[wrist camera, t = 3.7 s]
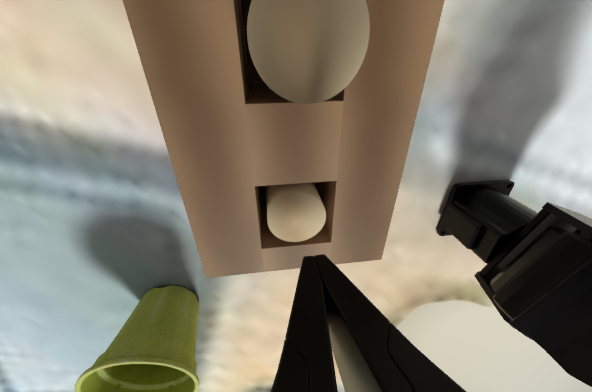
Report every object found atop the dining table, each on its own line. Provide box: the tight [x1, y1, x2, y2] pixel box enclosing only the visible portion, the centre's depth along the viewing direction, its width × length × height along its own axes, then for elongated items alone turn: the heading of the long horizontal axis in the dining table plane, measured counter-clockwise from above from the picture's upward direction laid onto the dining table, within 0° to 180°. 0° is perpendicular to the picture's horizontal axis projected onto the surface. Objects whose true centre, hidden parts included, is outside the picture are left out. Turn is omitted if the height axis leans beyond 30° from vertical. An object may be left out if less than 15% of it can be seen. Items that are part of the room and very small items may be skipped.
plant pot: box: [75, 285, 199, 392], centre depth 24 cm, size 9×9×9 cm
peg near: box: [247, 0, 370, 104], centre depth 10 cm, size 4×4×5 cm
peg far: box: [266, 182, 326, 242], centre depth 18 cm, size 4×4×5 cm
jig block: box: [123, 0, 444, 278], centre depth 16 cm, size 14×20×6 cm
